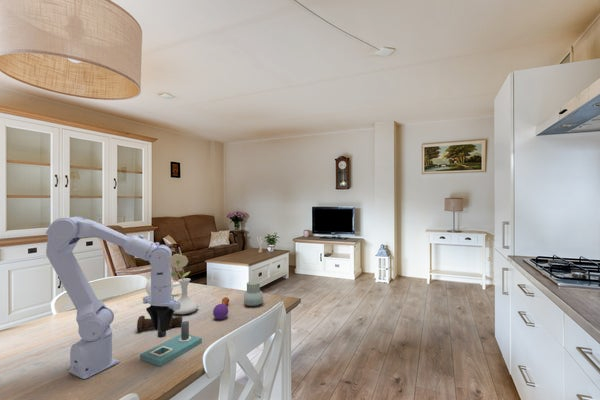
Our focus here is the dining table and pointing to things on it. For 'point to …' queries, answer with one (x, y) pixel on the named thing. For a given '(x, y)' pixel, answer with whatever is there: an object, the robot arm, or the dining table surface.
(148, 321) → the bolt
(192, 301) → the flower in vase
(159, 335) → the pin
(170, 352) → the pin board
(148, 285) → the piggy bank
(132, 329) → the dining table surface
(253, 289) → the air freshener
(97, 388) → the dining table surface
